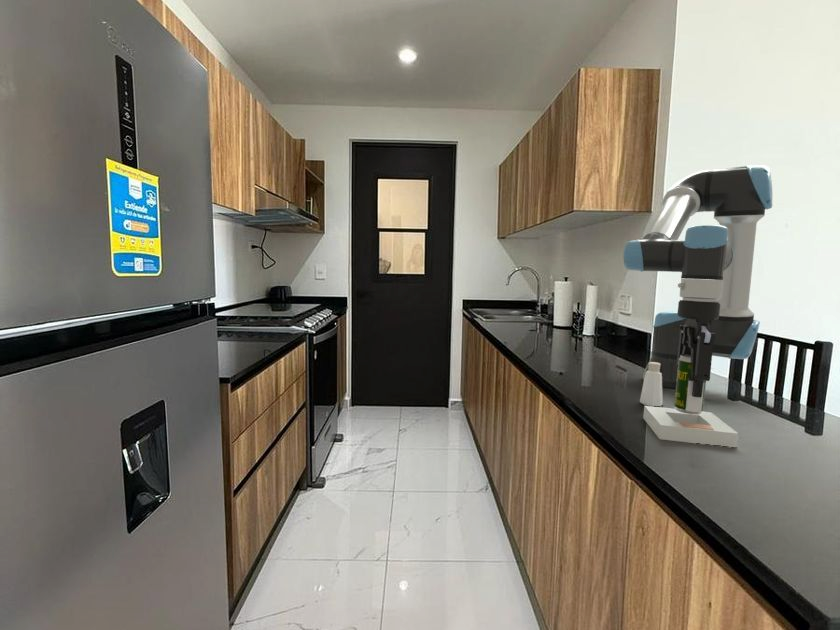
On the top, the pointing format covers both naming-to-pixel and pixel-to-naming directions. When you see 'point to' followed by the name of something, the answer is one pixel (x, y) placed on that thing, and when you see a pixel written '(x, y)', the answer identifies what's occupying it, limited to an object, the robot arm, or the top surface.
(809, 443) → the top surface
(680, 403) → the beer can
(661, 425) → the socket block
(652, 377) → the salt shaker
